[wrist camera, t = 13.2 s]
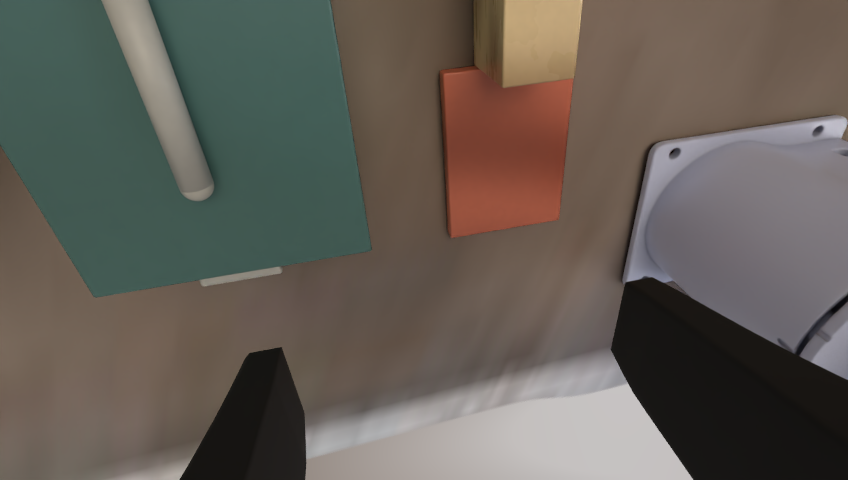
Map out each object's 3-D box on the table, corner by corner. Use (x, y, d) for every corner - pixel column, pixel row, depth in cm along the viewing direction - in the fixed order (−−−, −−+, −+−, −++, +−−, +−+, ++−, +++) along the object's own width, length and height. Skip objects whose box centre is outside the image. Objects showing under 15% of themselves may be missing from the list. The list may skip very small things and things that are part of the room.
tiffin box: (290, -236, 12) (270, -363, 7) (361, 186, 19) (377, 279, 14) (-51, -221, 11) (-366, -354, 6) (153, 218, 18) (87, 330, 13)
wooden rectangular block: (554, 213, 21) (587, 252, 19) (447, 231, 21) (466, 274, 18) (614, -423, 11) (704, -531, 9) (412, -423, 11) (442, -538, 8)
